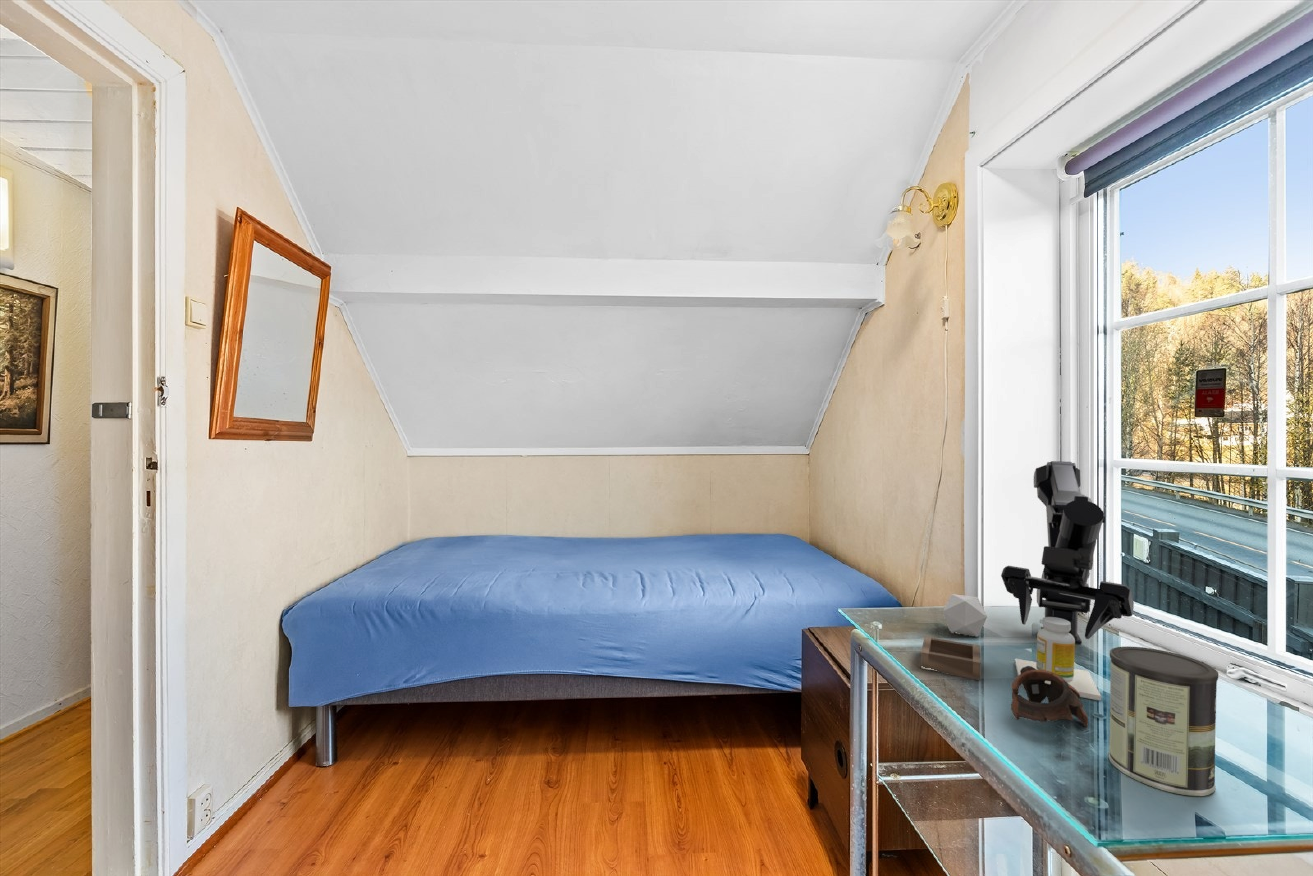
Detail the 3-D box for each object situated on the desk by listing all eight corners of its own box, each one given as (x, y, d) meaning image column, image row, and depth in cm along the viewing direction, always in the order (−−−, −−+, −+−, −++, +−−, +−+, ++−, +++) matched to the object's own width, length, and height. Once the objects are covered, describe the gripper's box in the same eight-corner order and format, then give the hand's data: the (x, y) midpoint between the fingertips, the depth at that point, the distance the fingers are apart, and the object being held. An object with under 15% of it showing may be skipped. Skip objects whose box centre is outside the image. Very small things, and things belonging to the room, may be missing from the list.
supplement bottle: (1030, 673, 100) (1032, 618, 100) (1044, 666, 103) (1045, 613, 103) (1066, 685, 96) (1067, 628, 95) (1079, 677, 99) (1080, 621, 98)
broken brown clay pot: (1109, 741, 80) (1092, 696, 79) (1042, 764, 82) (1024, 720, 80) (1056, 683, 92) (1040, 643, 90) (998, 704, 94) (981, 664, 92)
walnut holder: (924, 651, 111) (924, 636, 111) (979, 661, 107) (979, 645, 107) (920, 668, 103) (921, 652, 103) (980, 680, 99) (980, 663, 99)
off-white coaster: (1015, 662, 107) (1015, 658, 107) (1088, 675, 101) (1088, 671, 101) (1019, 685, 97) (1019, 680, 97) (1100, 700, 92) (1101, 695, 92)
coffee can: (1182, 756, 76) (1185, 650, 76) (1237, 804, 66) (1241, 683, 66) (1092, 743, 79) (1094, 641, 79) (1131, 788, 69) (1134, 671, 69)
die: (987, 633, 124) (961, 592, 129) (1003, 626, 117) (975, 582, 121) (953, 647, 124) (928, 605, 128) (967, 640, 116) (940, 595, 121)
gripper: (1005, 522, 108) (982, 590, 101) (1132, 537, 95) (1116, 617, 87) (1018, 558, 114) (997, 625, 107) (1139, 577, 100) (1125, 656, 93)
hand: (1053, 630), depth 98 cm, fingers open, 9 cm apart
